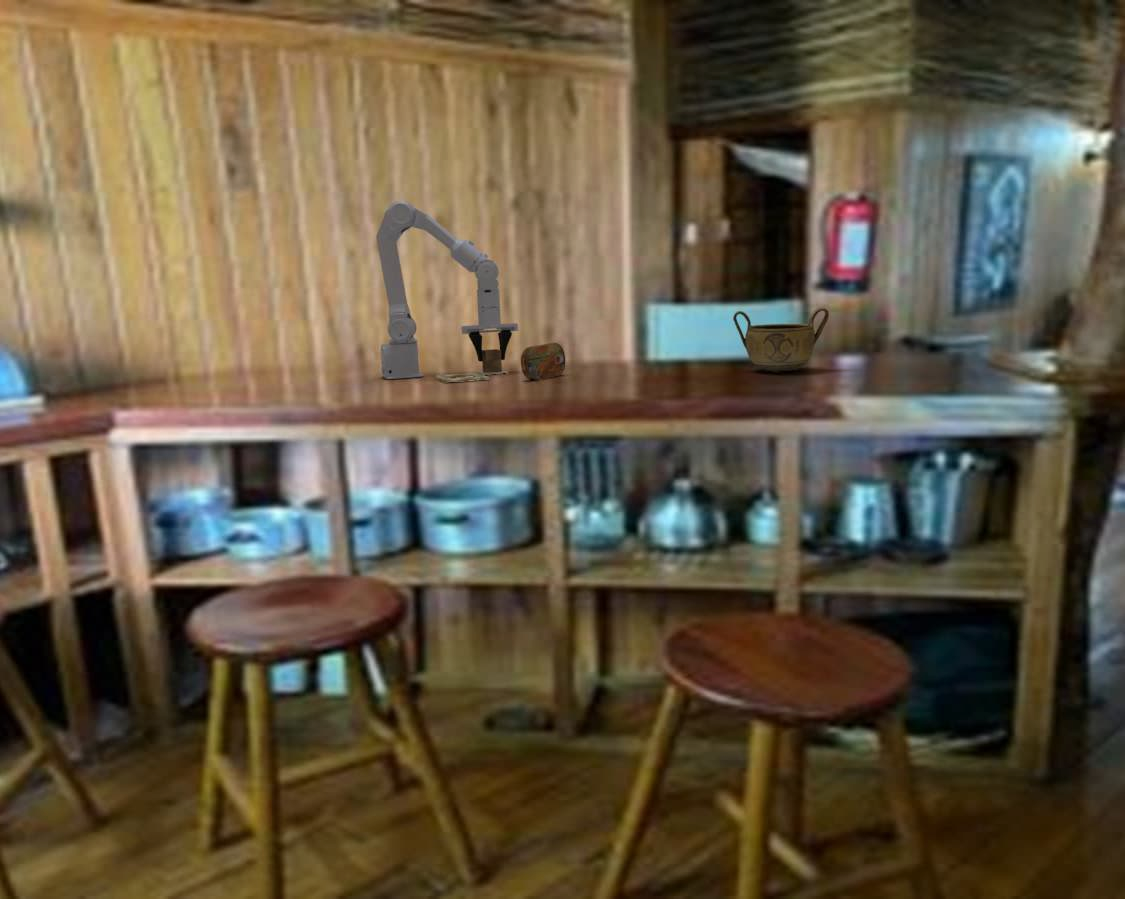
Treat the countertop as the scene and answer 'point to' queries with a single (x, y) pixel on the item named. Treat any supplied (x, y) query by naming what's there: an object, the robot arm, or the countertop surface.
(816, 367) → the countertop surface
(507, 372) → the ceramic pad
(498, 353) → the walnut block
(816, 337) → the ceramic bowl
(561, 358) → the tin
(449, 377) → the pocket board
